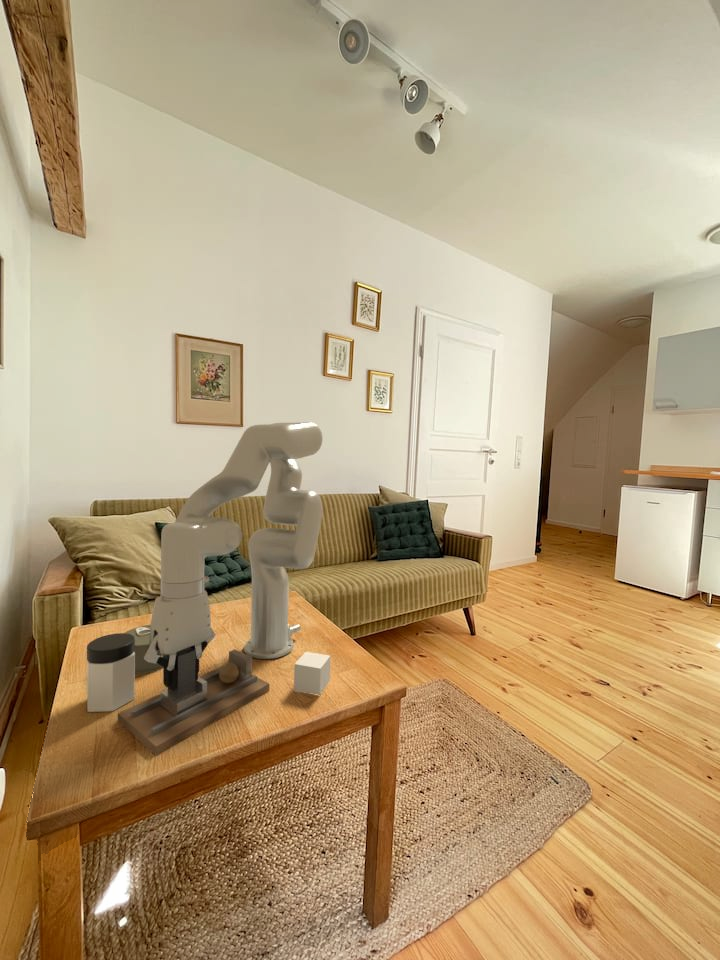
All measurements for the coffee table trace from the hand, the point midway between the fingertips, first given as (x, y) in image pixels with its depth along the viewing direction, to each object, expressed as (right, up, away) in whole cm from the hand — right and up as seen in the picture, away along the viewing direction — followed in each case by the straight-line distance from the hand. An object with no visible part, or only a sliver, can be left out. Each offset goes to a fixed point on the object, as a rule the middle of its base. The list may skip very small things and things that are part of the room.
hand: (181, 681), depth 75 cm
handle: (0, -4, +1) cm, 4 cm away
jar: (-16, -6, +4) cm, 18 cm away
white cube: (+24, -7, +11) cm, 27 cm away
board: (+2, -6, +3) cm, 7 cm away
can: (-17, -6, +20) cm, 26 cm away
